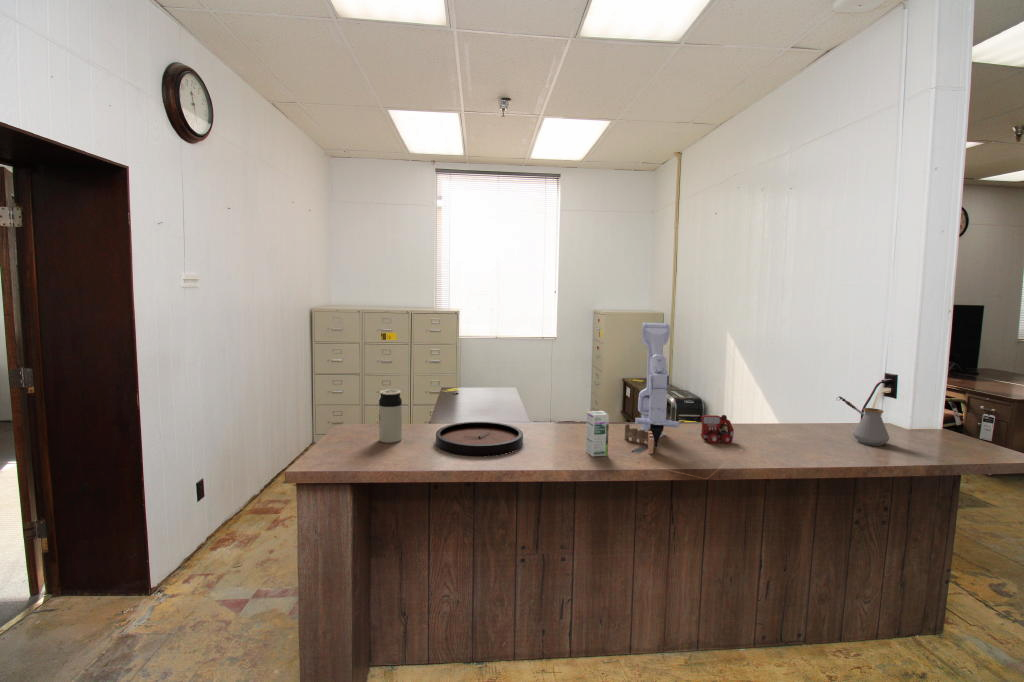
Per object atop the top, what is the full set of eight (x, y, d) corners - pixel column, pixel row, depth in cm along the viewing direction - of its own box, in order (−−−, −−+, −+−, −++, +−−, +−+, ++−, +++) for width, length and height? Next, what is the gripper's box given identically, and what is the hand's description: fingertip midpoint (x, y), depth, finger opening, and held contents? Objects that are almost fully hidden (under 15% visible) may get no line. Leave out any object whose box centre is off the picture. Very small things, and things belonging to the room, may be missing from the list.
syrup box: (592, 457, 171) (593, 414, 170) (585, 451, 177) (586, 410, 175) (607, 456, 172) (609, 414, 171) (600, 450, 178) (602, 409, 177)
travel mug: (404, 437, 189) (404, 389, 187) (397, 443, 181) (397, 394, 179) (383, 436, 190) (383, 388, 188) (375, 442, 182) (375, 393, 180)
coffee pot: (896, 446, 191) (900, 407, 189) (872, 448, 188) (875, 408, 186) (846, 430, 211) (849, 395, 210) (823, 432, 208) (826, 396, 207)
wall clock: (462, 451, 163) (421, 428, 188) (462, 463, 163) (421, 439, 189) (540, 437, 180) (493, 417, 206) (540, 448, 181) (493, 427, 206)
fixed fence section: (625, 439, 191) (626, 423, 191) (652, 444, 185) (653, 428, 184) (623, 440, 190) (624, 424, 190) (650, 445, 184) (651, 429, 183)
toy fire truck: (737, 445, 188) (739, 417, 187) (704, 445, 188) (706, 417, 186) (728, 439, 195) (729, 413, 194) (696, 439, 194) (698, 412, 193)
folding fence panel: (647, 444, 183) (648, 431, 183) (651, 445, 183) (652, 431, 183) (648, 453, 174) (649, 439, 173) (652, 453, 173) (653, 439, 173)
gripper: (635, 408, 173) (633, 447, 175) (680, 412, 169) (678, 451, 170) (636, 404, 180) (634, 441, 181) (679, 407, 176) (677, 445, 177)
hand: (655, 446), depth 176 cm, fingers closed
